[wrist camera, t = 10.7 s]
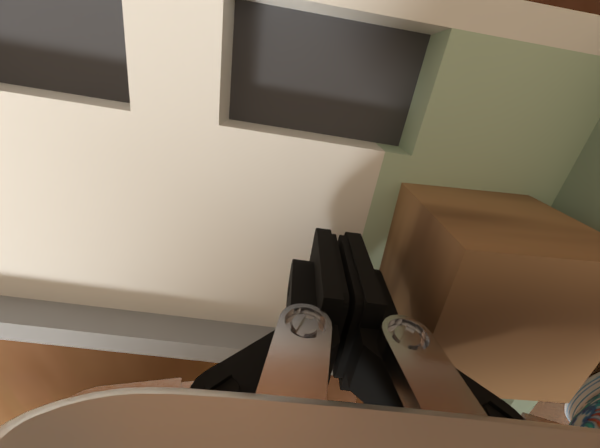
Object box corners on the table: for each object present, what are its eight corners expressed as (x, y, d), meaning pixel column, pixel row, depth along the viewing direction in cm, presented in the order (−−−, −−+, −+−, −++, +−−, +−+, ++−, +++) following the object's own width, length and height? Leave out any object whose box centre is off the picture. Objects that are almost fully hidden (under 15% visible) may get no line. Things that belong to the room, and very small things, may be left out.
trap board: (463, 336, 18) (519, 425, 13) (-135, 264, 16) (-311, 341, 11) (619, 38, 11) (832, 12, 7) (-363, -152, 9) (-999, -371, 5)
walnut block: (482, 297, 14) (568, 403, 9) (374, 288, 14) (410, 392, 9) (528, 195, 12) (669, 268, 7) (401, 182, 12) (465, 249, 7)
